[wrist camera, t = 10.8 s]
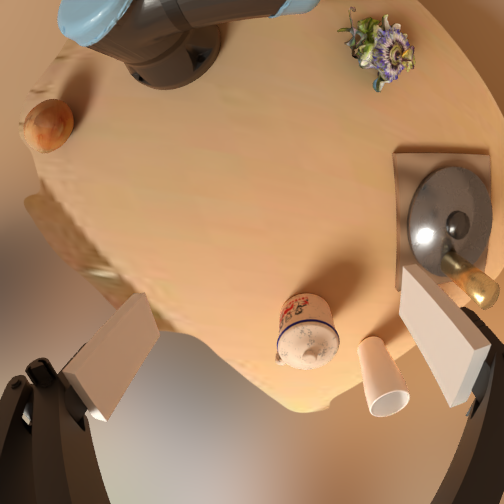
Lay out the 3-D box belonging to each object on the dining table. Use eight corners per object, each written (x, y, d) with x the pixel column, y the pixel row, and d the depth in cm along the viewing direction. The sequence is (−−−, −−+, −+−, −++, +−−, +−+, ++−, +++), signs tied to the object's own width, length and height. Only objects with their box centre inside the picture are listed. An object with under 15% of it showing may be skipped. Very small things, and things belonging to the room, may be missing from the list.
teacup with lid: (301, 280, 44) (306, 321, 33) (342, 309, 45) (356, 353, 34) (257, 329, 48) (250, 374, 37) (297, 353, 49) (298, 399, 38)
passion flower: (376, 79, 36) (395, 108, 29) (320, 48, 34) (326, 67, 27) (409, 33, 27) (439, 51, 20) (351, -4, 25) (368, -1, 18)
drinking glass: (391, 345, 46) (416, 401, 32) (363, 364, 48) (379, 422, 34) (376, 325, 45) (402, 383, 31) (346, 345, 47) (361, 406, 33)
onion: (52, 157, 41) (16, 163, 31) (48, 112, 38) (12, 111, 28) (85, 142, 39) (47, 144, 30) (81, 93, 36) (44, 86, 27)
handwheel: (399, 274, 40) (435, 319, 27) (410, 159, 34) (461, 165, 21) (478, 272, 38) (519, 306, 25) (491, 173, 32) (544, 186, 19)
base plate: (392, 153, 35) (396, 153, 34) (484, 154, 32) (489, 155, 31) (395, 287, 42) (398, 291, 41) (480, 271, 39) (484, 274, 38)
